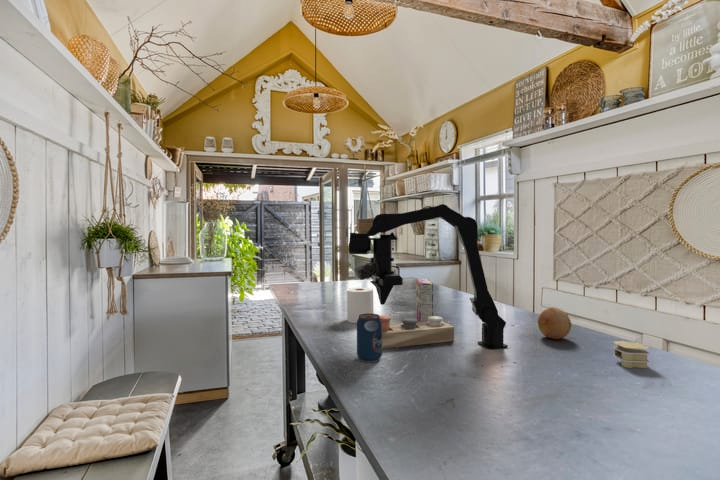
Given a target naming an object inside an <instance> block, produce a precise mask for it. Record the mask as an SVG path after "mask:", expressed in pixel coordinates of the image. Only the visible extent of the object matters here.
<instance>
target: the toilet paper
mask: <svg viewBox="0 0 720 480" xmlns="http://www.w3.org/2000/svg"><path fill="white" fill-rule="evenodd" d="M369 313H370V314H374V289H373V288H369V287H350V288H348V289H346V321H347V322H348V323H352V324H357V320H358V318H359V315H361V314H369Z"/></svg>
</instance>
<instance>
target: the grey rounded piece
mask: <svg viewBox="0 0 720 480" xmlns="http://www.w3.org/2000/svg"><path fill="white" fill-rule="evenodd" d="M401 323H403V328H405V329H411V328H416V323H417V318H411V317H409V318H403V319H401Z"/></svg>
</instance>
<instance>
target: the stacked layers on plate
mask: <svg viewBox="0 0 720 480" xmlns="http://www.w3.org/2000/svg"><path fill="white" fill-rule="evenodd" d="M612 342H613V343H614V344H616V345H614V346H613V347H612V349H614V353H613V354H612V356H613V357H615V358H616V359H619V360H620V361H621V362H620V363H621V366H622V367H624V368H629V369H630V368H631V369H632V368H640V369H641V368H642V369H648V363H650V361H649V360H648V356H649V355H650V352H648V351H647V350H648V349H650V348H649V347H648V346H647V345H646V344H644V343H636V342H630V341H622V340H620V341H619V340H615V341H612ZM645 349H647V350H645Z"/></svg>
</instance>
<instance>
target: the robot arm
mask: <svg viewBox="0 0 720 480" xmlns="http://www.w3.org/2000/svg"><path fill="white" fill-rule="evenodd" d="M438 218H441V220H443V221H444V222H446V223H447V224H449V225H450V226H452V227H454V230H455V233H456V234H457V237H458V239H459V241H460V243H461V244H462V245H461V246H462V247H463V251H464V253H465V257H466V261H467V262H466V263H467V267H468V271H469V274H470V275H469V276H470V279H471V284H472V287H473V288H472V289H473V297H469V301H470V303H471V310H472V312H473V313H474V314H475V316H477V317H478V318H479V319H480V321H481V322H482V323H481V341H477V344H479V345H481V346H483V347H484V348H486V349H489V350H496V349H502V348H508V347H509V346H508V345H507V344H505V343H504V329H505V327H506V324H507V322H506V321H505V320H504V319H503V318H502V317H501V316H500V315H499V310H498V309H497V306H496V304H495V301H494V299H493V297H492V295H491V294H490V291H489V289H488V284H487V280H486V276H485V273H484V271H485V270H484V268H483V263H482V260H481V255H480V250H479V246H478V243H479V242H478V241H479V229H478V223H477V220H475V218H472V217H470V216H463V214H461V213H459V212H457V211H456V210H454V209H452V208H450V207H449V206H448V205H447V204H444V203H441V204H438V205H435V206H431V207H426V208H421V209H417V210H410V211H407V212H402V213H400V212H398V213H397V212H396V213H379V214H377V215H375V216H374V217H373V219H372V226H371V227H370V229H369V230H367V232H365V233H363V232H362V233H361V232H360V233H359V232H350V233H349V241H348V242H349V243H348V254H349V255H368V253H369V252H372V253H373V255H372V257H370V260H369V261H370V262H368V263H365V264H362V265H360V266H358V267H355V268H354V271H355V274H356V277H357V279H359V280H361V281H362V280H366V279H367V280H368V279H369V278H370V279H371V278H372V280H370V283H371V284H372V285H373V286H374V287H375V289H376V293H377V295H378V299H379V304H380V305H381V306H383V305H385V304H386V302H387V300H388V298H389V295H390V293H391V291H393V288H394V286H403V285H404V281H403V280H404V278H403V277H402V276H401V275H399V274H397V273H395V271H393V270H392V269H393V267H392V266H393V265H392V263H393V262H395V258H394V257H393V255H392V249H393V247H392V241H397V240H398V237H397V236H396V235H395V233H394V232H393V231H392V230H394V229H397V228H399V227H402V226H405V225H409V224H414V223H420V222H424V221H429V220H434V219H438ZM389 231H392V232H390V234H382V233H387V232H389ZM379 233H381V234H380V236H379V237H375V236H376V235H378V234H379ZM372 249H373V250H372Z"/></svg>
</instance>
